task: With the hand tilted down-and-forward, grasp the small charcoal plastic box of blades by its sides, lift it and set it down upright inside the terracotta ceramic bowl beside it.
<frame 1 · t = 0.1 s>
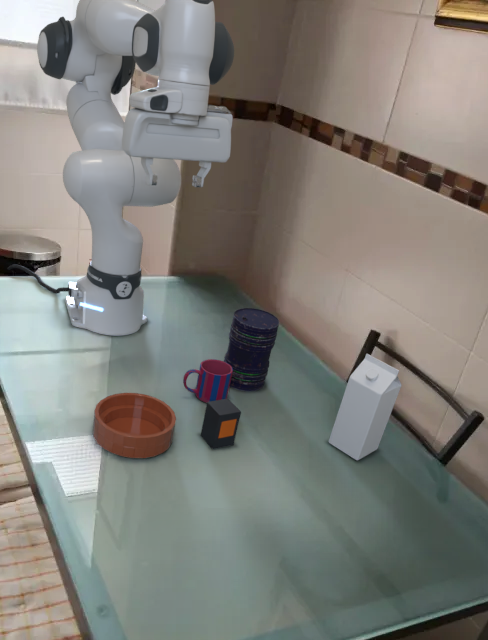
hand: (174, 185, 119), 39 cm above the table, tool pointing down, fingers open, 8 cm apart
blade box: (216, 440, 123), on the table
bowl: (132, 436, 119), on the table
mug: (203, 396, 135), on the table
dark blue cylinder: (242, 380, 144), on the table
milk carton: (352, 447, 129), on the table
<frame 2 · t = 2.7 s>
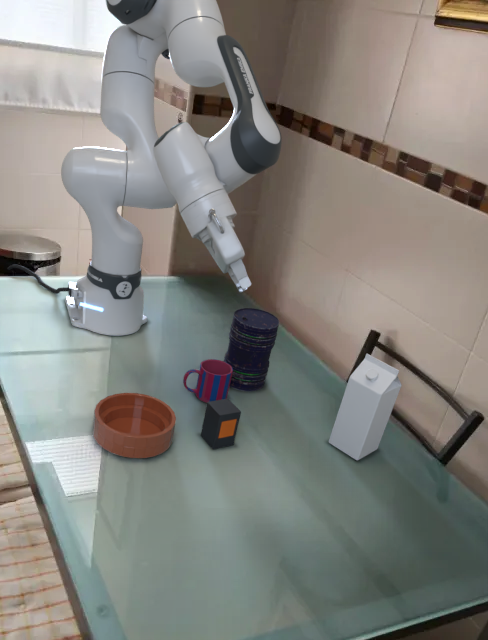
hand: (245, 289, 116), 26 cm above the table, tool tilted 45°, fingers open, 8 cm apart
nothing on the table moved.
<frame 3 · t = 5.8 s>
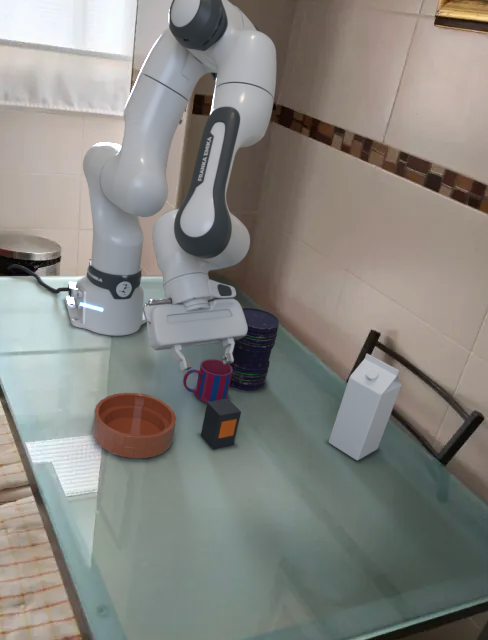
hand: (208, 366, 123), 11 cm above the table, tool tilted 45°, fingers open, 8 cm apart
nothing on the table moved.
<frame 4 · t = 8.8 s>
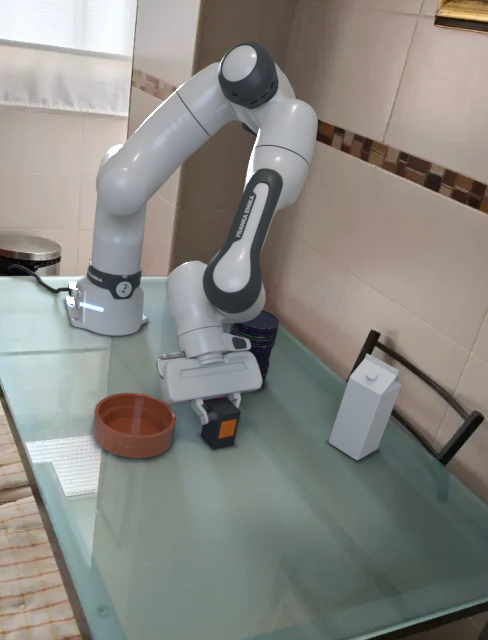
hand: (221, 421, 120), 4 cm above the table, tool tilted 45°, fingers closed on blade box, 4 cm apart
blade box: (216, 440, 123), on the table, touching gripper
everything else where it was.
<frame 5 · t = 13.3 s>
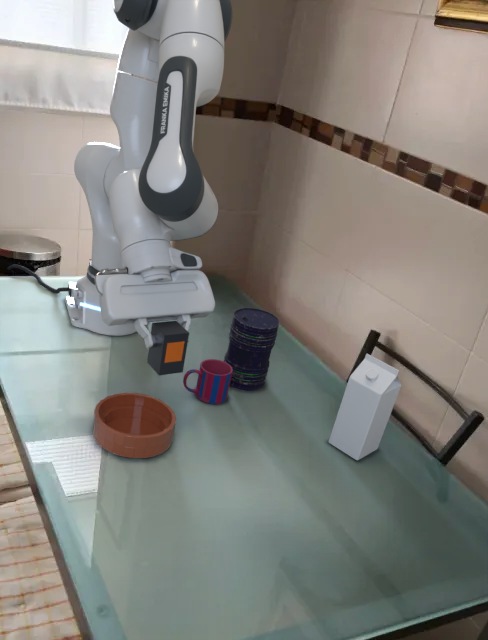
hand: (168, 345, 109), 19 cm above the table, tool tilted 45°, fingers closed on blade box, 4 cm apart
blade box: (164, 367, 112), point 15 cm above the table, touching gripper
everything else where it was.
when the fingers open (5 cm above the table, at t = 18.0 s): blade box stays where it is, resting on bowl.
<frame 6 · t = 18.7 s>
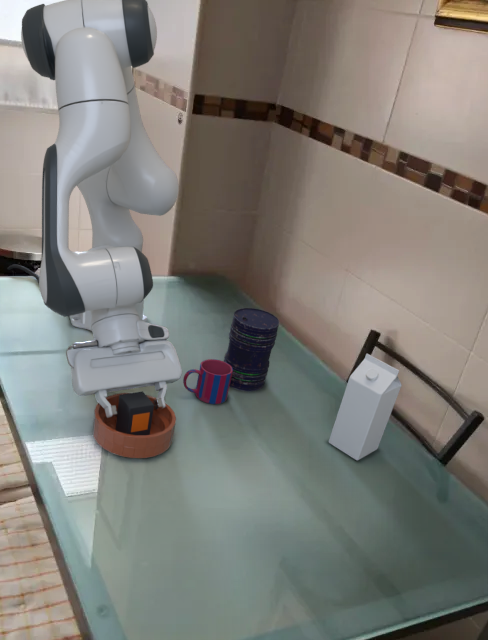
hand: (136, 412, 116), 5 cm above the table, tool tilted 45°, fingers open, 8 cm apart
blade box: (132, 434, 118), point 1 cm above the table, touching bowl
everything else where it was.
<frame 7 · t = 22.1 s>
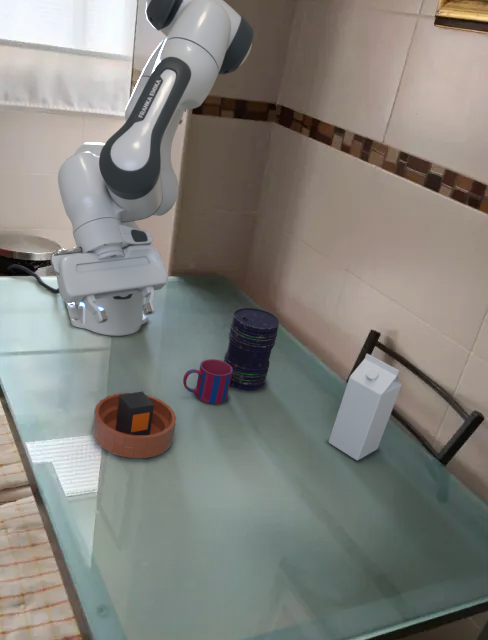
hand: (126, 317, 115), 19 cm above the table, tool tilted 45°, fingers open, 8 cm apart
nothing on the table moved.
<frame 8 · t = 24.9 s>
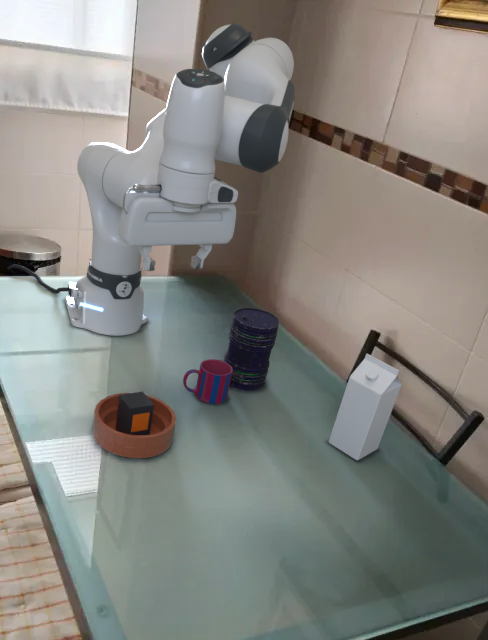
hand: (172, 268, 111), 29 cm above the table, tool pointing down, fingers open, 8 cm apart
nothing on the table moved.
at the end: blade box inside the target area in the bowl (0.2 cm from its centre), point 0.6 cm above the bowl's base; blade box tilted 0°; the gripper is holding nothing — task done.
